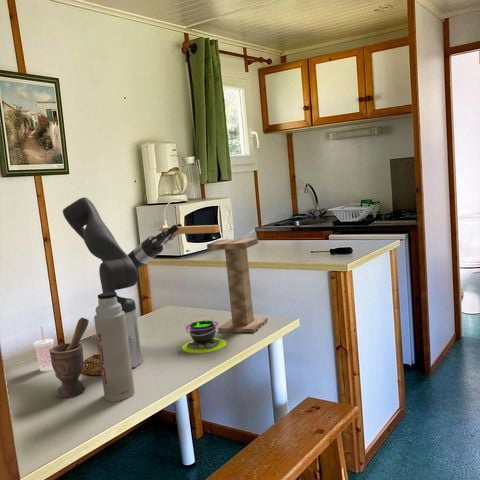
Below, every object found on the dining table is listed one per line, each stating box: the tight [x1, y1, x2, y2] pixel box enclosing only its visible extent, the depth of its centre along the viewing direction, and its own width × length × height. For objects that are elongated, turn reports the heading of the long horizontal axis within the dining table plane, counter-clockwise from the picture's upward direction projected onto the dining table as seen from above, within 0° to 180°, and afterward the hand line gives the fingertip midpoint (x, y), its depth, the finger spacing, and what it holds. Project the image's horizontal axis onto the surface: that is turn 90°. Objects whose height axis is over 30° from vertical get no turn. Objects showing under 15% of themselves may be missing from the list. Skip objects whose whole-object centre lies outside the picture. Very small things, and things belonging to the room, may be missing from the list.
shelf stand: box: [206, 237, 269, 333], centre depth 197 cm, size 16×14×32 cm
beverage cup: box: [33, 326, 54, 372], centre depth 172 cm, size 6×6×14 cm
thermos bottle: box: [93, 291, 136, 402], centre depth 143 cm, size 8×8×28 cm
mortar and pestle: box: [50, 317, 89, 398], centre depth 150 cm, size 12×9×20 cm
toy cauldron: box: [181, 311, 227, 354], centre depth 180 cm, size 15×15×11 cm
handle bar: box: [163, 224, 221, 235], centre depth 201 cm, size 22×3×2 cm, turn 67°
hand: (179, 226), depth 203 cm, fingers closed on handle bar, 3 cm apart
